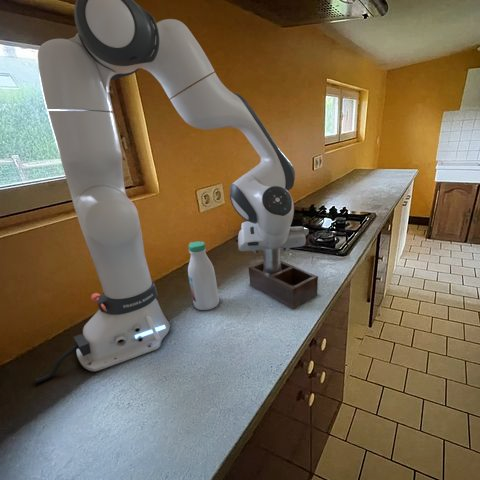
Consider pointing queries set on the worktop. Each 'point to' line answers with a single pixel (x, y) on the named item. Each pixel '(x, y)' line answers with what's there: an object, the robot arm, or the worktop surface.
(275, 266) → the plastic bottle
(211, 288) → the milk bottle
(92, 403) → the worktop surface
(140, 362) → the worktop surface
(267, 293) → the bottle rack
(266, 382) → the worktop surface
